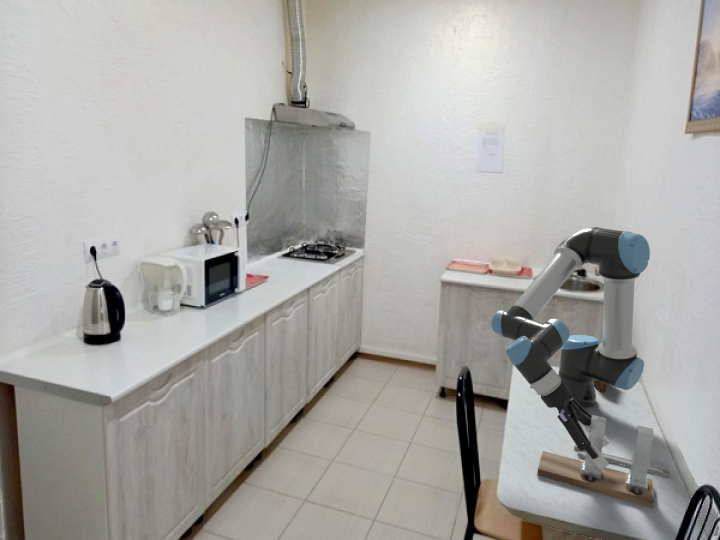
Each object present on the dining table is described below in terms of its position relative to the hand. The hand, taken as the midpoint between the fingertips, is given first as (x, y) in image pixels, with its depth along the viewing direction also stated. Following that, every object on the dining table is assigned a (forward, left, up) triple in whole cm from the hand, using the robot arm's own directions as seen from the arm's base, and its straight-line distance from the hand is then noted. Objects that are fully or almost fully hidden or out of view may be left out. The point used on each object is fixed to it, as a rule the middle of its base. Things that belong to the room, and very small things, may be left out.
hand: (605, 455), depth 140 cm
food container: (-67, -3, -8) cm, 68 cm away
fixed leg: (+1, +8, -6) cm, 10 cm away
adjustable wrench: (-13, +5, -9) cm, 16 cm away
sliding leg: (+1, -3, -6) cm, 7 cm away
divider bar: (0, -2, -8) cm, 8 cm away
